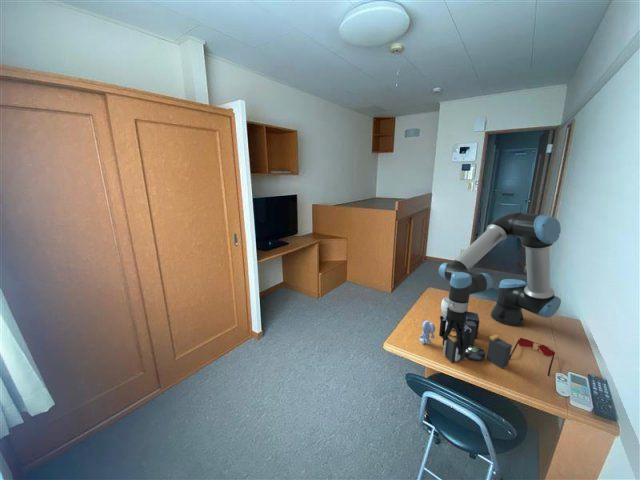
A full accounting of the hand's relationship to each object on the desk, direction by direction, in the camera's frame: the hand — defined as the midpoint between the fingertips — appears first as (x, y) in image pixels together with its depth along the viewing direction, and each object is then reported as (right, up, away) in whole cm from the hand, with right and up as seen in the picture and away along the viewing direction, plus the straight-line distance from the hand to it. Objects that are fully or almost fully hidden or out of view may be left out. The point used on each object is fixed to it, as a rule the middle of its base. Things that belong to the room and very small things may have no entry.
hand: (451, 356), depth 117 cm
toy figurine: (-7, +1, +12) cm, 14 cm away
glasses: (+36, -2, +1) cm, 36 cm away
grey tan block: (+13, +1, +13) cm, 18 cm away
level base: (+11, -1, +3) cm, 12 cm away
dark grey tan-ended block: (+19, -2, -2) cm, 19 cm away
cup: (+12, +5, +26) cm, 29 cm away
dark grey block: (+2, -1, +1) cm, 3 cm away
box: (+19, +3, +19) cm, 27 cm away
